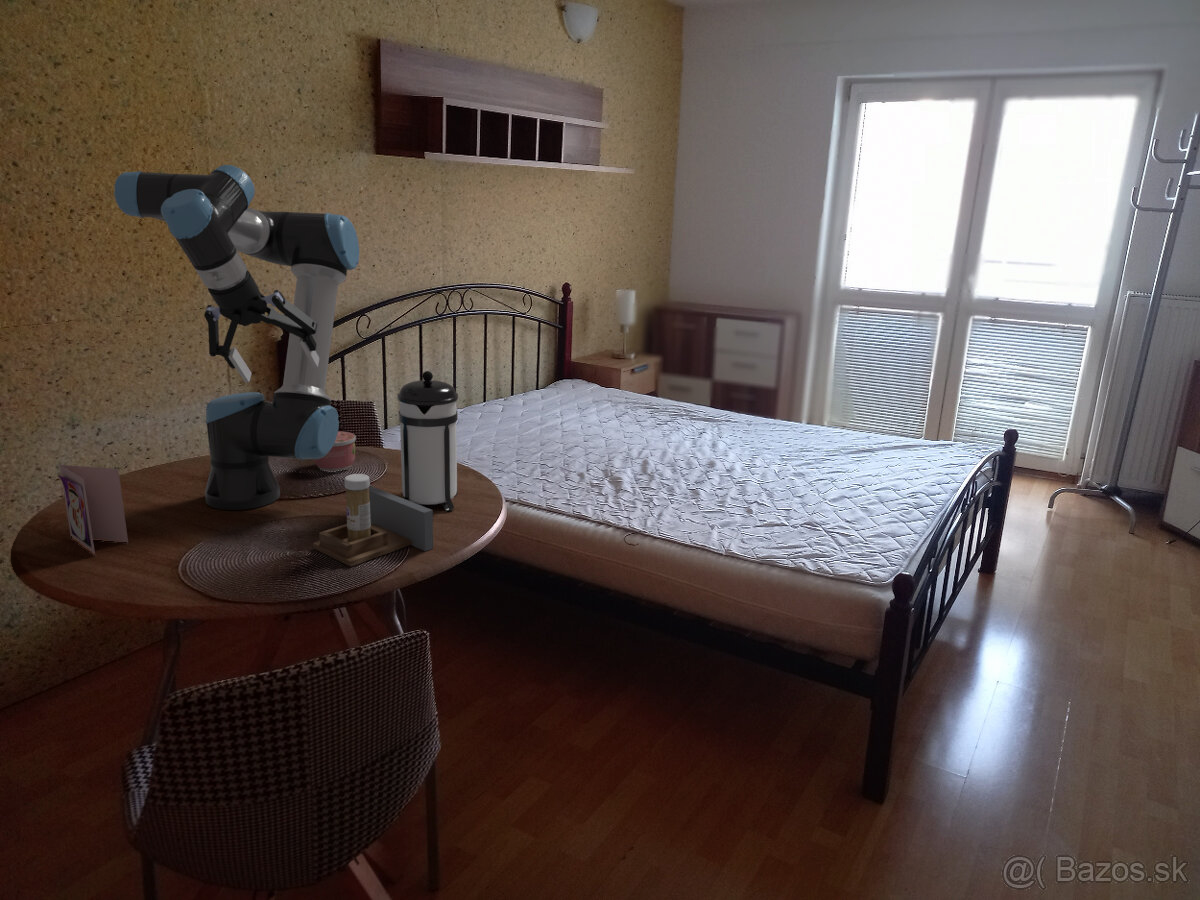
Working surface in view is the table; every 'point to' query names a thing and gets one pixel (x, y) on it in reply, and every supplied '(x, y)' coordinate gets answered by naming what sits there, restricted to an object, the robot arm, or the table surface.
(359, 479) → the sprinkles bottle
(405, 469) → the coffee press
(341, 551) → the socket block
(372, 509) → the backstop wall
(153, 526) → the table surface
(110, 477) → the greeting card
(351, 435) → the container
